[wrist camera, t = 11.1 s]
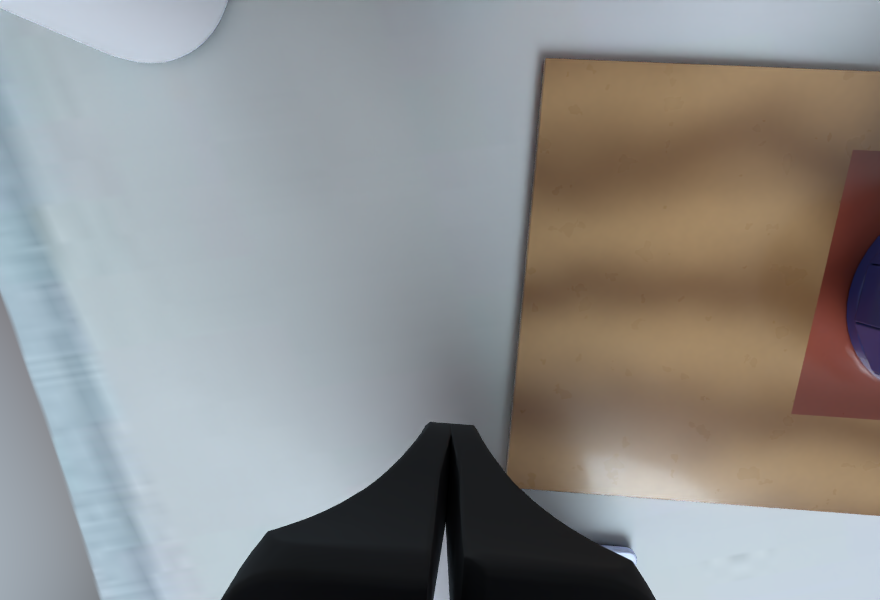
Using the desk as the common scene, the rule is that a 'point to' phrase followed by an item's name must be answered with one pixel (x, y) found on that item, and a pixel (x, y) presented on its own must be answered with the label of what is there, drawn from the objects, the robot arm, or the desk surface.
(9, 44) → the desk surface
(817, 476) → the desk mat
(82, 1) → the pill bottle
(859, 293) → the bowl
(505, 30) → the desk surface
